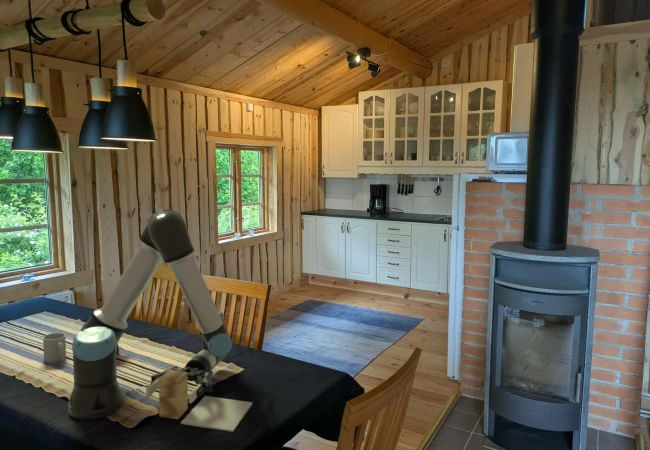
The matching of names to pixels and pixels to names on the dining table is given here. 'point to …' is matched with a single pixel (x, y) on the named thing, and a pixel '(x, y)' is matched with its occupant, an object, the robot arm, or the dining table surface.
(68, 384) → the dining table surface
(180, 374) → the oak block
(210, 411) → the cream square board
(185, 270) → the robot arm
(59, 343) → the cup
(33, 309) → the dining table surface
